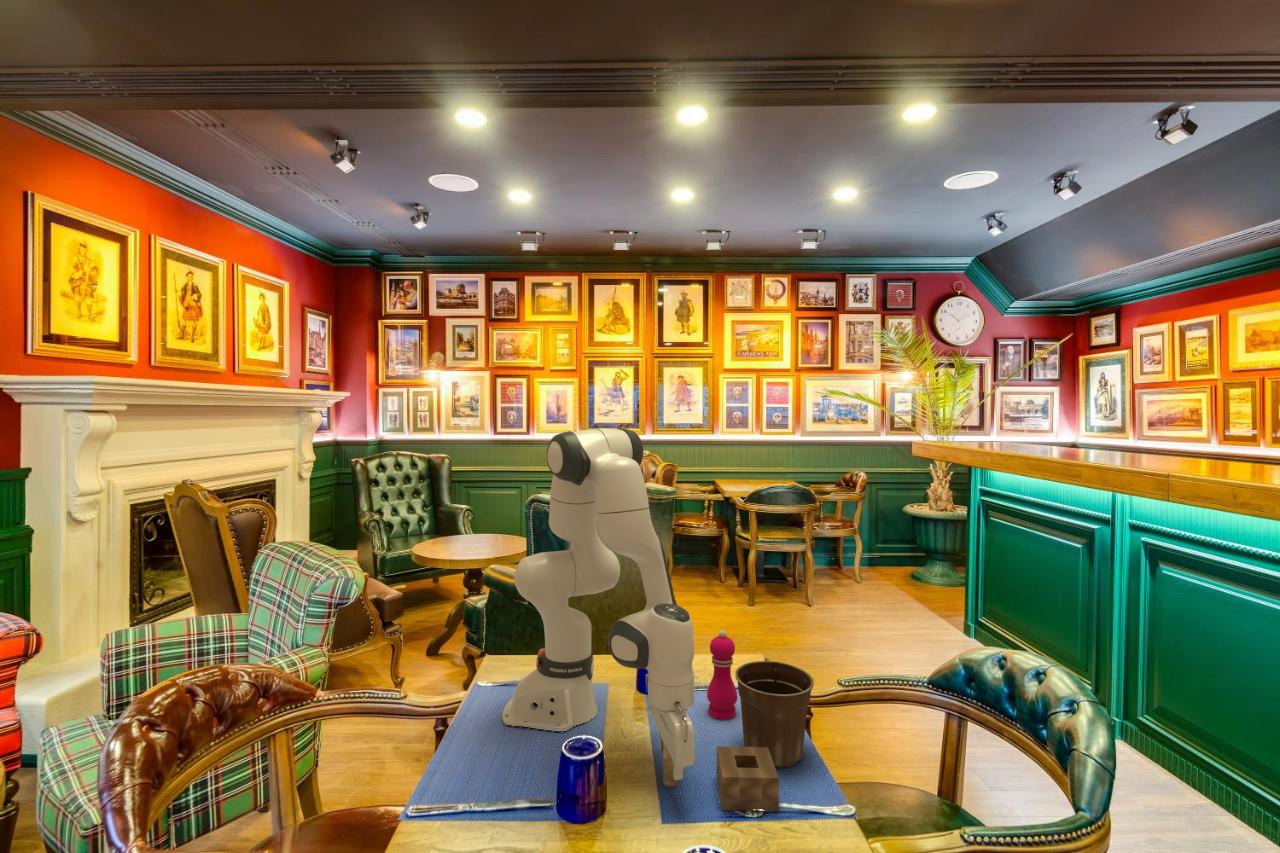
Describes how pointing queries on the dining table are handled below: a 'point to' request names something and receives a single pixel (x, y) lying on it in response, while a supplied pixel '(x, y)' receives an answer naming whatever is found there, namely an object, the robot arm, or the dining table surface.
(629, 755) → the dining table surface
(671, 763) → the pin
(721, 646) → the pepper mill
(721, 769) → the bore block
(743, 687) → the plant pot
